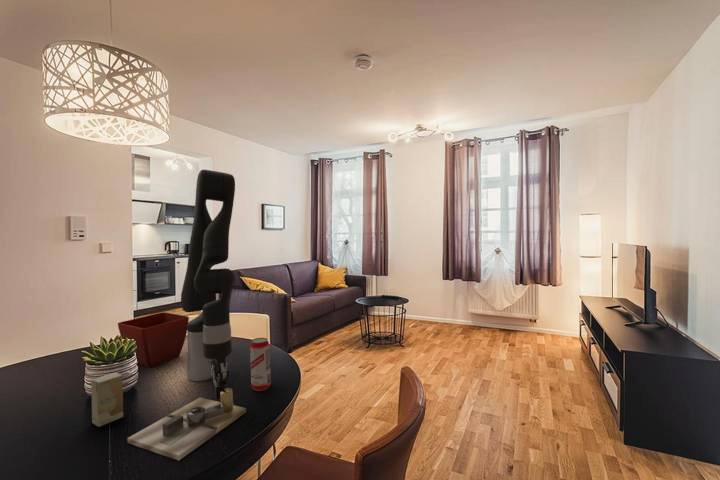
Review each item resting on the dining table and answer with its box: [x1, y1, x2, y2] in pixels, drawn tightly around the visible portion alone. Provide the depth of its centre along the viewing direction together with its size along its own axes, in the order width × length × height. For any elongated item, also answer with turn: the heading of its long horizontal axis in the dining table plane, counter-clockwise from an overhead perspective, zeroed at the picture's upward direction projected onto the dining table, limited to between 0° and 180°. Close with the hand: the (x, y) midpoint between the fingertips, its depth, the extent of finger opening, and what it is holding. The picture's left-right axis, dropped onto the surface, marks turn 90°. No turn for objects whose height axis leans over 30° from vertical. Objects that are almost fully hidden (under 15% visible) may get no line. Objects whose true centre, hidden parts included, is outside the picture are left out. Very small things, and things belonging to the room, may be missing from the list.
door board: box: [126, 397, 247, 462], centre depth 92 cm, size 18×22×4 cm
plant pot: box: [117, 312, 190, 368], centre depth 141 cm, size 19×19×17 cm
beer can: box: [249, 337, 272, 392], centre depth 113 cm, size 6×6×16 cm
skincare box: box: [90, 372, 124, 428], centre depth 96 cm, size 6×4×12 cm
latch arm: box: [187, 387, 234, 425], centre depth 93 cm, size 12×4×6 cm, turn 127°
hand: (219, 397), depth 98 cm, fingers closed
